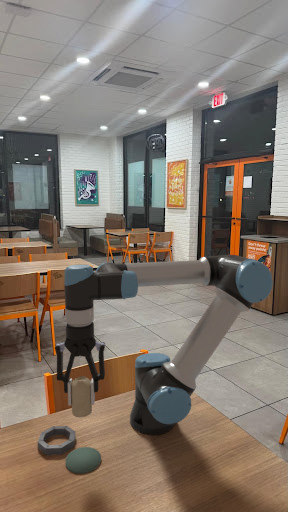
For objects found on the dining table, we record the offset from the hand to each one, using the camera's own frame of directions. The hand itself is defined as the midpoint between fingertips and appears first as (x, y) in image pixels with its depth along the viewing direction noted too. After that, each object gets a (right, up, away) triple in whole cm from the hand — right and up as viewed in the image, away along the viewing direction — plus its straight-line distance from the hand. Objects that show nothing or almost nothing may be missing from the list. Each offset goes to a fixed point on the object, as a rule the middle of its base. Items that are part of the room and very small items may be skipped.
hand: (81, 402), depth 99 cm
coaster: (0, -18, +2) cm, 18 cm away
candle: (0, -3, 0) cm, 3 cm away
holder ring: (-9, -17, +10) cm, 22 cm away
